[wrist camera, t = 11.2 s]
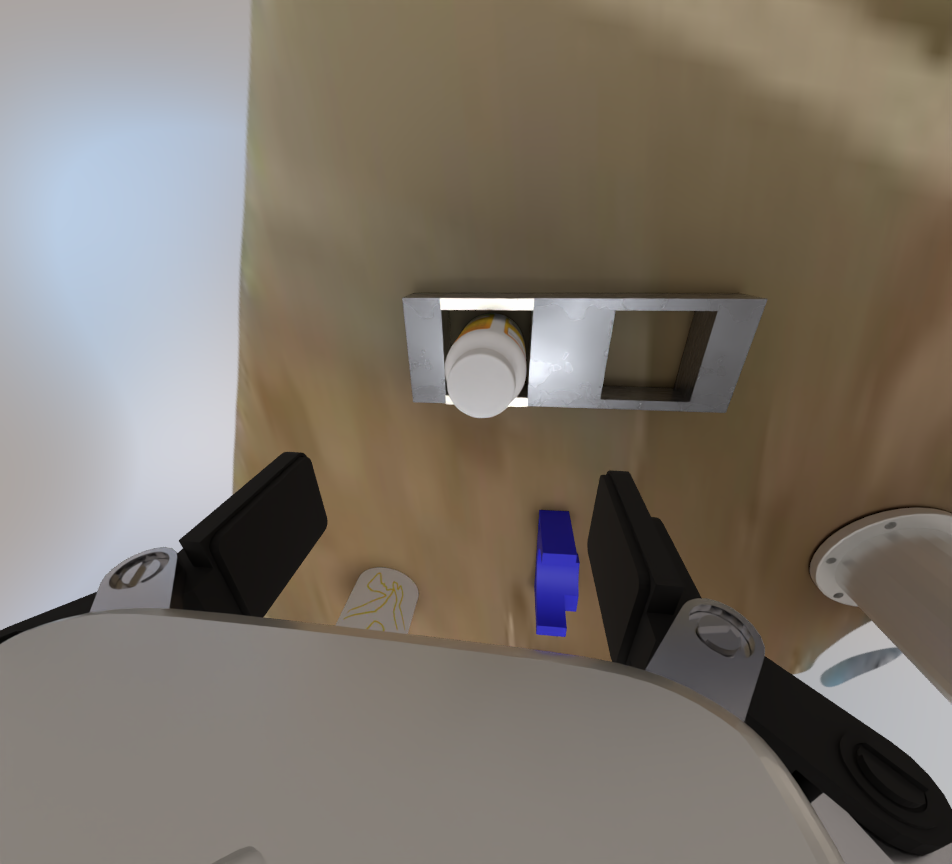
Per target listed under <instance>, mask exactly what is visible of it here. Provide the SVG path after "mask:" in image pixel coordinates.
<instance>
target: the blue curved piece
mask: <svg viewBox="0 0 952 864" xmlns="http://www.w3.org/2000/svg"><path fill="white" fill-rule="evenodd" d="M579 564H580V563H579V558H578V554H577V552H576V547H575V541H574V536H573V531H572V525H571V520H570V515H569V511H550V510H539V525H538V540H537V555H536V571H535V586H534V588H535V611H536V634H539V635H550V636H561V637H565V636H566V629H567V627H566V617H565V611H576V608H577V602H578V574H579Z"/></svg>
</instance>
